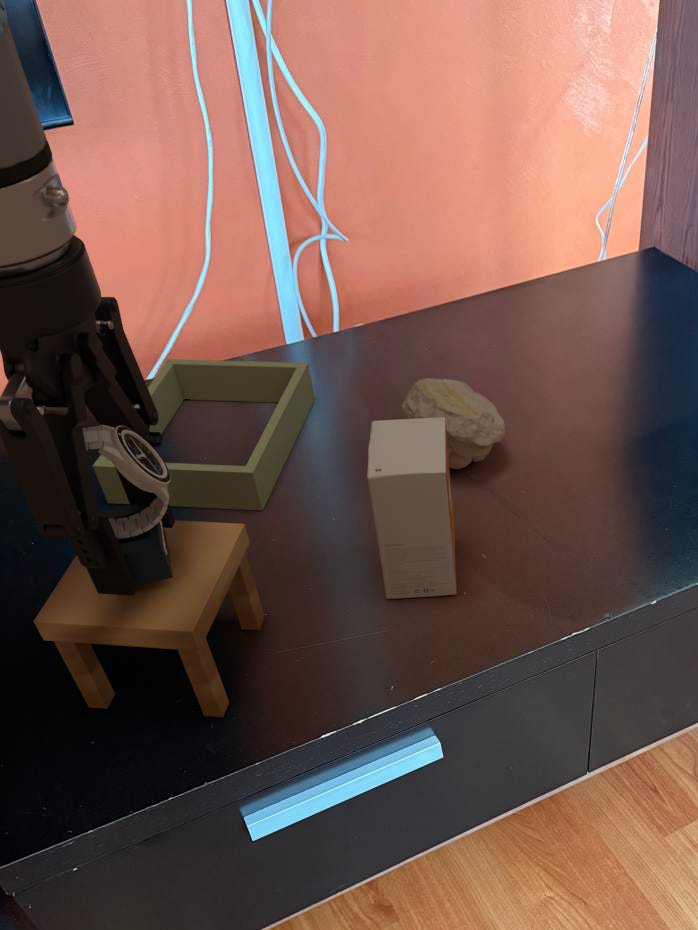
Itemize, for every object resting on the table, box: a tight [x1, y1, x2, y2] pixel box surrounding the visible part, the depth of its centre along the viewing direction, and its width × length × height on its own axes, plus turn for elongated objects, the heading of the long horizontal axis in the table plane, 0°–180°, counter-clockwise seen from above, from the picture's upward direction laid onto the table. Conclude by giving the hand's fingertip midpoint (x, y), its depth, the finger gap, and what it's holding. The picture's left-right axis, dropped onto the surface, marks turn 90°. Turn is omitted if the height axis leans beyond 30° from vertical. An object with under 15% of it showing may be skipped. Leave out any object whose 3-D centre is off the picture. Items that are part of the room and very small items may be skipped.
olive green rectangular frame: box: [92, 358, 316, 511], centre depth 98 cm, size 16×20×4 cm
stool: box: [33, 519, 266, 718], centre depth 75 cm, size 12×12×10 cm
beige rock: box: [400, 377, 506, 470], centre depth 95 cm, size 12×8×10 cm
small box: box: [366, 417, 458, 600], centre depth 80 cm, size 8×6×13 cm
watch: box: [82, 424, 173, 586], centre depth 67 cm, size 6×8×11 cm
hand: (138, 556), depth 70 cm, fingers closed on watch, 7 cm apart
